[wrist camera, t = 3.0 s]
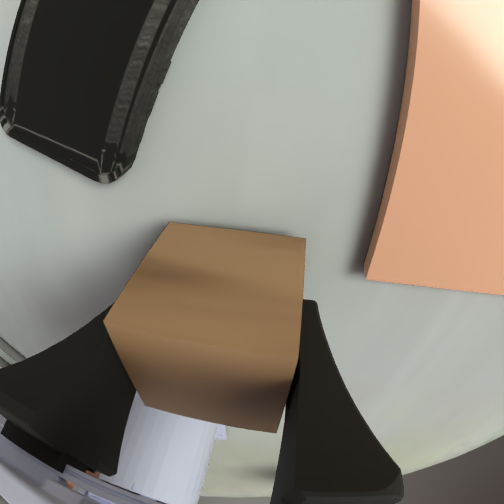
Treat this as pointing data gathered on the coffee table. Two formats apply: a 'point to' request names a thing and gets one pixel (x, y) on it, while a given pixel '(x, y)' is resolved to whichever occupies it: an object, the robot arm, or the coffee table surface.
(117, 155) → the phone
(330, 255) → the coffee table surface
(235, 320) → the walnut cube
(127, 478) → the robot arm
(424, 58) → the terracotta tile
